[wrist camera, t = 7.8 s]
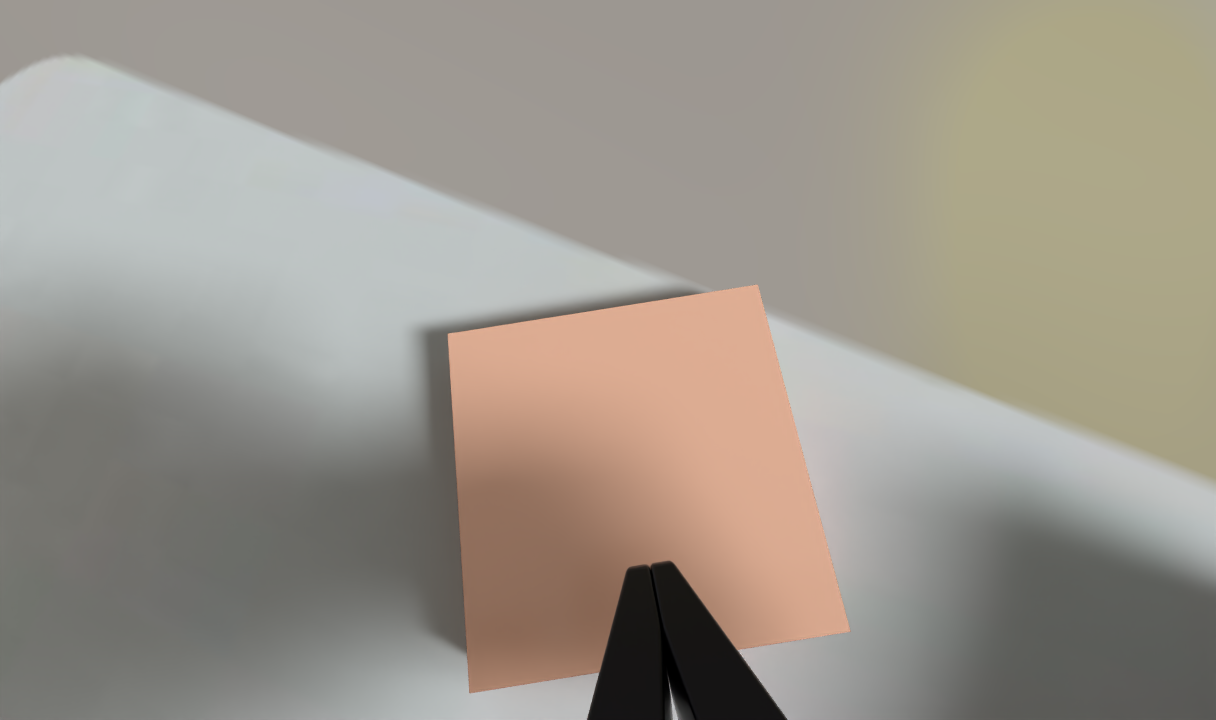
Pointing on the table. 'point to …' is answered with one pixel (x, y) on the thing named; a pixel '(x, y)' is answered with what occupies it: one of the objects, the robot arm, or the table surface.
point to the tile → (630, 481)
